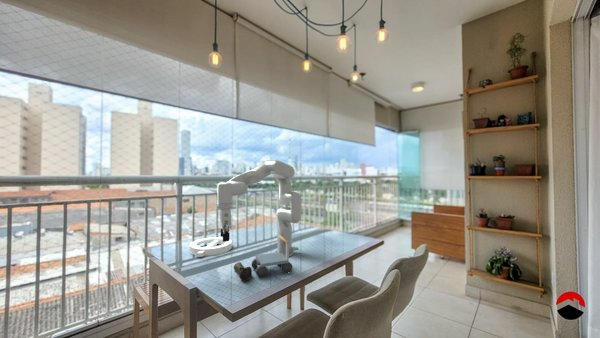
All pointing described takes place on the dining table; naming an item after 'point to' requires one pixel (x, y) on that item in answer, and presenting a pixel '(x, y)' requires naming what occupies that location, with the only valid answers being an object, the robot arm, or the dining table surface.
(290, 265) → the trolley
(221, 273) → the dining table surface
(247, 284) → the dining table surface
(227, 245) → the ring with crossbar
